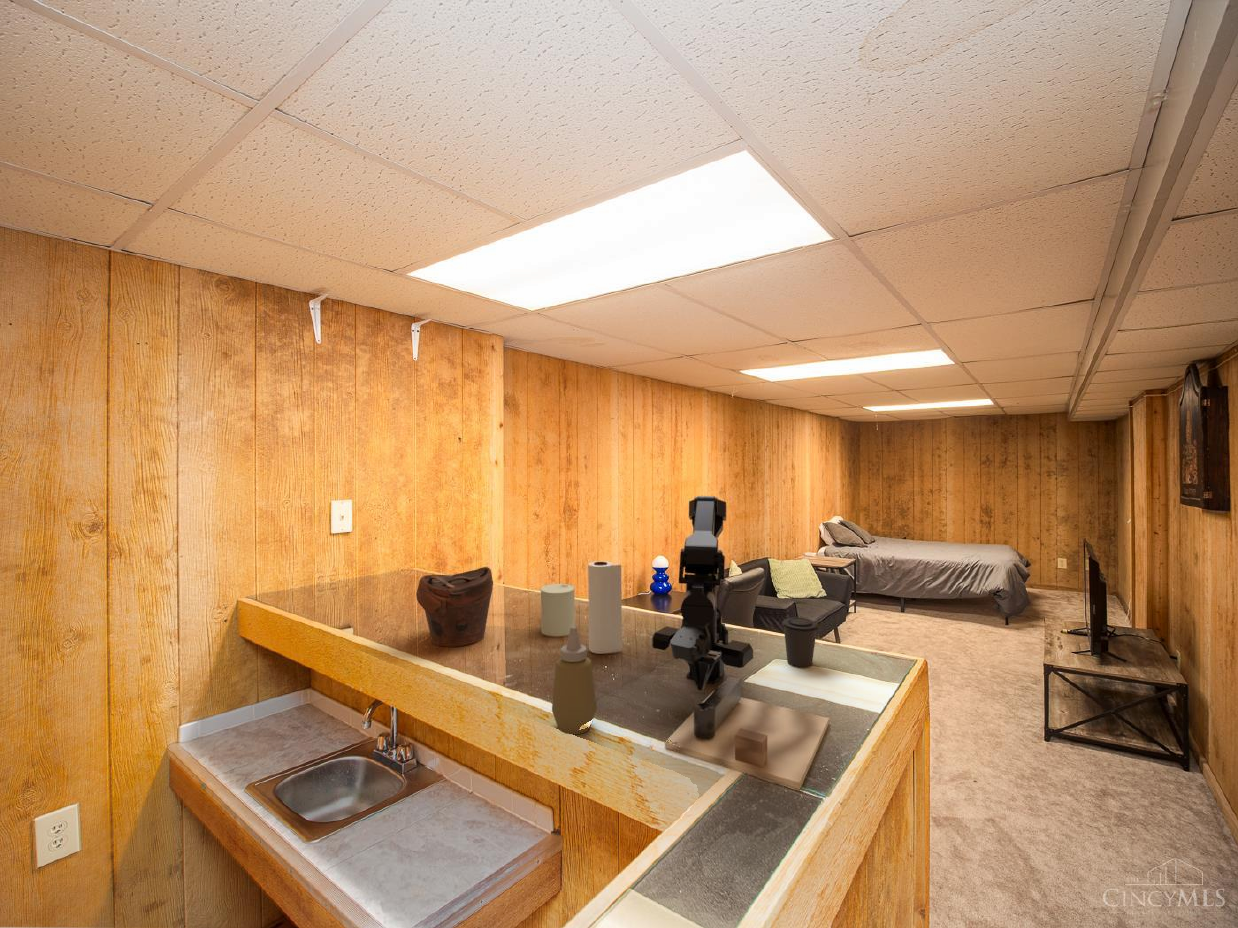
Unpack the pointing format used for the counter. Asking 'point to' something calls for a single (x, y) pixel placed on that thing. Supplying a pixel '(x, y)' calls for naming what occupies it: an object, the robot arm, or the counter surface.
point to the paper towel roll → (605, 607)
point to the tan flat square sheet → (785, 728)
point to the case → (456, 606)
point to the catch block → (751, 747)
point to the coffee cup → (800, 641)
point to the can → (557, 609)
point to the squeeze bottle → (573, 687)
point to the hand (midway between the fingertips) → (701, 689)
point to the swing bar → (716, 708)
